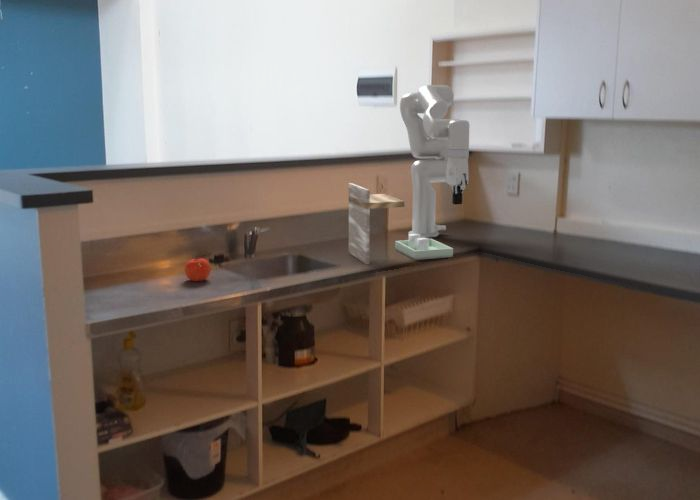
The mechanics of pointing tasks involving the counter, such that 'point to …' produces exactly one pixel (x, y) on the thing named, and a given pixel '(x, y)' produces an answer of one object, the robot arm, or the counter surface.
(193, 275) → the apple
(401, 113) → the robot arm
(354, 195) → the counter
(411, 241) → the grey rounded piece
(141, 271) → the counter surface
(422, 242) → the white egg
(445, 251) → the tray
